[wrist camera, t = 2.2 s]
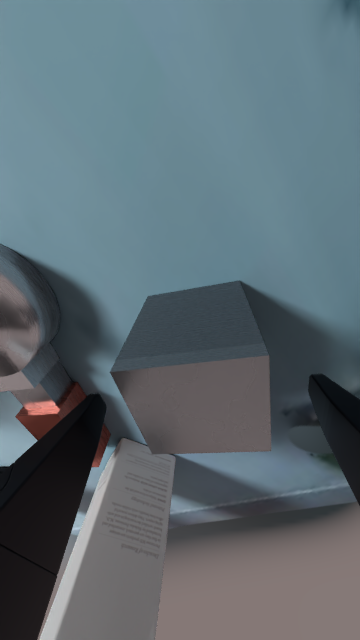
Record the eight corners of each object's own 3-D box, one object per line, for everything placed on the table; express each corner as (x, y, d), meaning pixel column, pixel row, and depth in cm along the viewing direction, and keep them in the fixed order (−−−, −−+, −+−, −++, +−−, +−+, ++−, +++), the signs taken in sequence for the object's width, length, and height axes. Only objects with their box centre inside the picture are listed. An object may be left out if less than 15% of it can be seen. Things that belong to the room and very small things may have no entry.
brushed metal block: (246, 354, 14) (271, 450, 9) (169, 363, 15) (152, 454, 10) (239, 280, 12) (269, 355, 6) (147, 296, 13) (109, 372, 7)
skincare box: (148, 485, 25) (95, 780, 13) (99, 469, 25) (-11, 770, 12) (178, 452, 21) (143, 844, 9) (119, 432, 20) (-17, 837, 8)
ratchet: (133, 436, 20) (110, 520, 15) (62, 439, 22) (19, 516, 17) (14, 222, 11) (-144, 252, 6) (-95, 252, 13) (-299, 297, 7)
